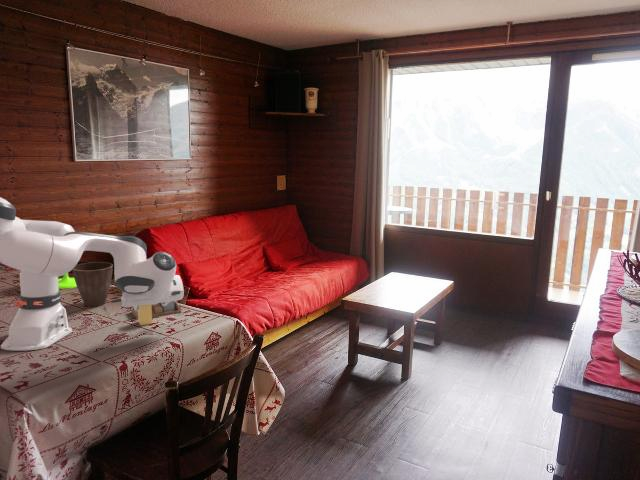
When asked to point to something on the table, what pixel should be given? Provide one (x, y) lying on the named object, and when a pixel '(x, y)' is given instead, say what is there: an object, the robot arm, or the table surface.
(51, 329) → the robot arm
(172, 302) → the plug grey
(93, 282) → the plant pot
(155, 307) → the slot rack
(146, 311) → the plug ochre
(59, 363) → the table surface
